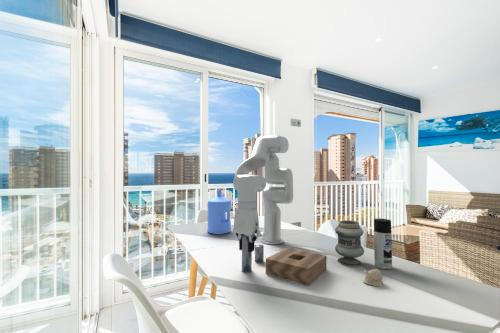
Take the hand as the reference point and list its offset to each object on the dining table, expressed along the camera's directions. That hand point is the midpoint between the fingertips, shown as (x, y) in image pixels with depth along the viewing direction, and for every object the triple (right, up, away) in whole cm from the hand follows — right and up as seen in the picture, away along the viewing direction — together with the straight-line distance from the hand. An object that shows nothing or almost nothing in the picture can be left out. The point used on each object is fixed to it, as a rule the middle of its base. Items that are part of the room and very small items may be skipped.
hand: (246, 249), depth 105 cm
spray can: (+58, -9, +4) cm, 59 cm away
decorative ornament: (+46, -8, -12) cm, 48 cm away
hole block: (+20, -8, -2) cm, 22 cm away
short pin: (+5, -9, +11) cm, 15 cm away
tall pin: (0, -8, 0) cm, 8 cm away
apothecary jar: (+46, -9, +9) cm, 48 cm away
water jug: (-19, -10, +66) cm, 70 cm away
